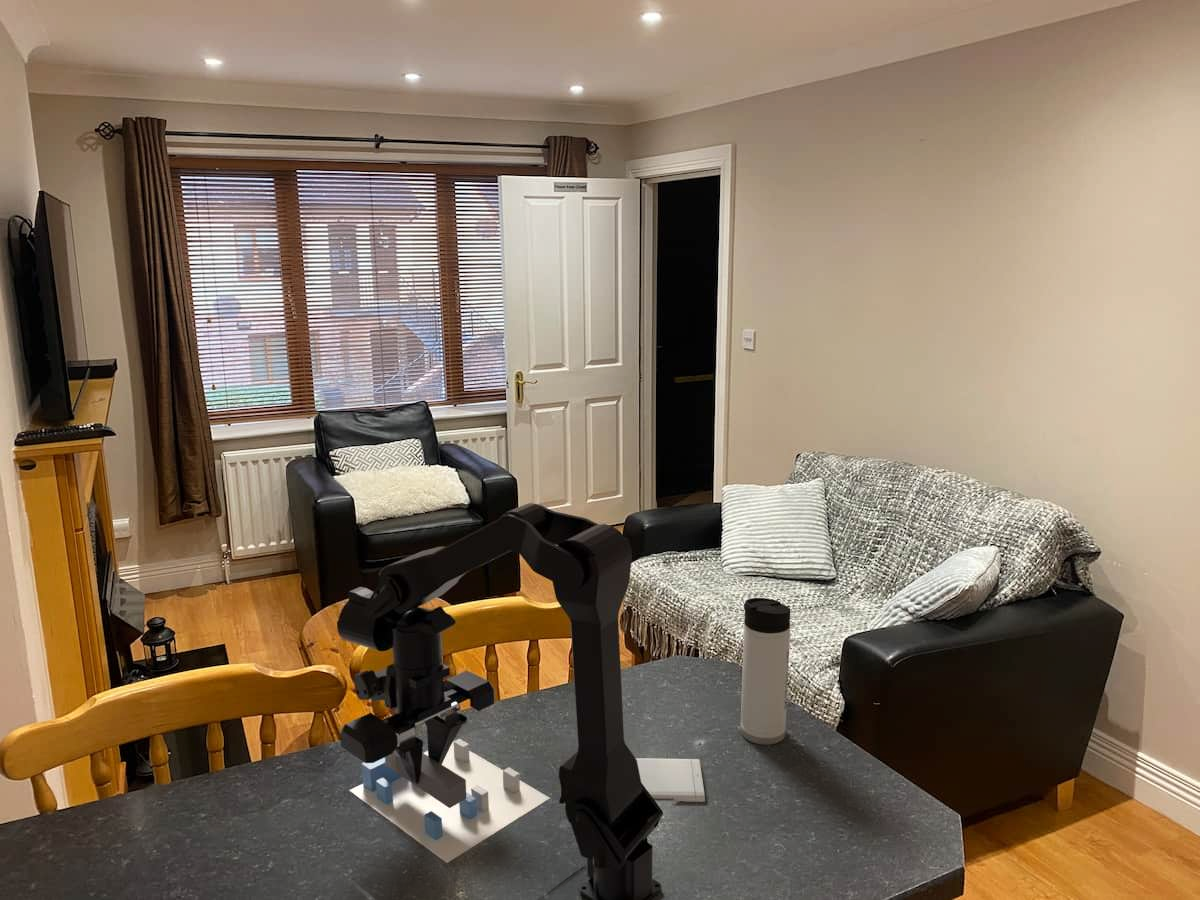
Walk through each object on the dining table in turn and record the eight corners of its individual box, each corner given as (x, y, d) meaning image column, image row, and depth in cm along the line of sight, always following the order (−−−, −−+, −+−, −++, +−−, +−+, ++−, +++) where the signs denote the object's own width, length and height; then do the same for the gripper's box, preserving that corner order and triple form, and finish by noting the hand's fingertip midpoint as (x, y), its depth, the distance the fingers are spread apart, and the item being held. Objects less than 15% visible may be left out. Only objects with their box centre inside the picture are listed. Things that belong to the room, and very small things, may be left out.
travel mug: (729, 728, 126) (733, 597, 121) (767, 718, 128) (773, 589, 124) (755, 750, 120) (760, 614, 116) (794, 739, 123) (800, 605, 118)
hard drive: (604, 793, 109) (705, 793, 109) (606, 756, 117) (699, 756, 117) (605, 805, 110) (704, 805, 109) (606, 767, 118) (699, 767, 117)
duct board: (550, 800, 109) (549, 775, 109) (447, 865, 98) (445, 837, 97) (450, 742, 123) (449, 718, 122) (349, 793, 111) (347, 767, 110)
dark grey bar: (466, 798, 104) (465, 779, 103) (449, 808, 102) (448, 789, 101) (402, 756, 112) (400, 739, 112) (385, 765, 110) (384, 747, 110)
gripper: (440, 616, 115) (445, 723, 119) (310, 664, 102) (320, 784, 105) (495, 640, 108) (499, 754, 111) (363, 696, 95) (372, 824, 98)
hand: (424, 777), depth 107 cm, fingers closed on dark grey bar, 2 cm apart
